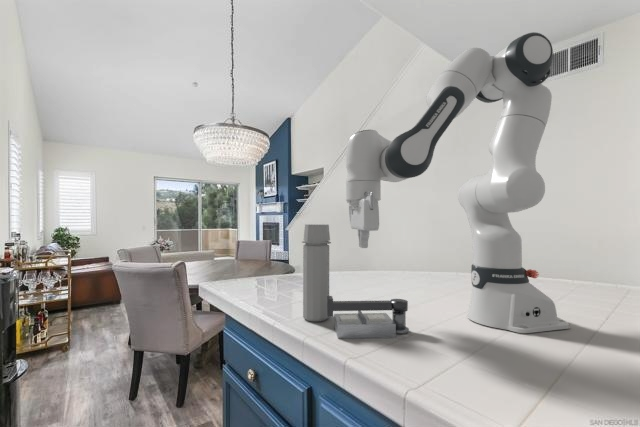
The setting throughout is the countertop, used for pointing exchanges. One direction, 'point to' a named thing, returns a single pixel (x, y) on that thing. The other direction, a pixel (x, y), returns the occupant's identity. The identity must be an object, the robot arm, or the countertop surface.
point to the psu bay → (364, 325)
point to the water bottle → (315, 272)
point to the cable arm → (365, 305)
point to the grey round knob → (400, 322)
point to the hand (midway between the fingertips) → (363, 247)
